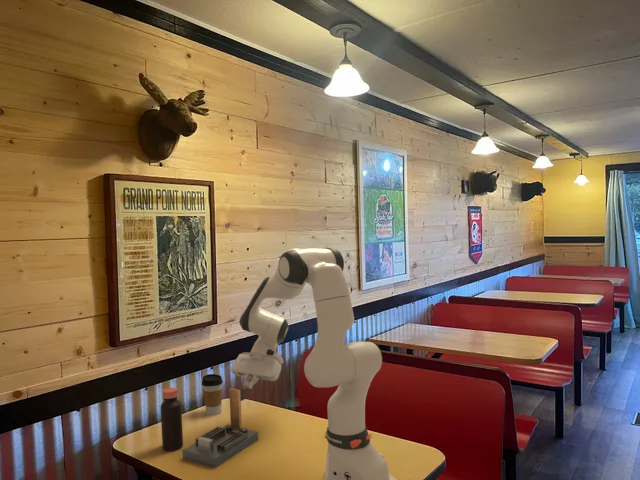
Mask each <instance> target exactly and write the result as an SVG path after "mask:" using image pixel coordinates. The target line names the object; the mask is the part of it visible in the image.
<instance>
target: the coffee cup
mask: <svg viewBox="0 0 640 480" xmlns="http://www.w3.org/2000/svg"><path fill="white" fill-rule="evenodd" d="M223 383H224V381H223V378H222V375H219V374H216V373H215V374H214V373H210V374H205V375H204V376H202V380H201V386H202V388H203V389H202V392H203V399H204V405H205V413H206V416H209V417H211V416H213V417H214V416H218V415H220V414H221V413H222V400H223V398H222V397H223V396H222V395H223Z"/></svg>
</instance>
